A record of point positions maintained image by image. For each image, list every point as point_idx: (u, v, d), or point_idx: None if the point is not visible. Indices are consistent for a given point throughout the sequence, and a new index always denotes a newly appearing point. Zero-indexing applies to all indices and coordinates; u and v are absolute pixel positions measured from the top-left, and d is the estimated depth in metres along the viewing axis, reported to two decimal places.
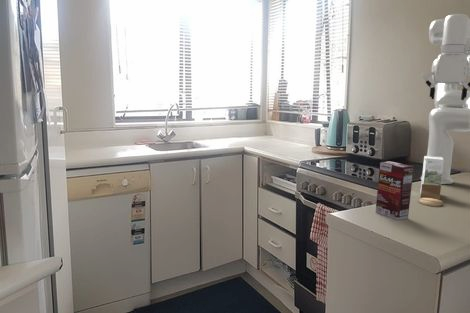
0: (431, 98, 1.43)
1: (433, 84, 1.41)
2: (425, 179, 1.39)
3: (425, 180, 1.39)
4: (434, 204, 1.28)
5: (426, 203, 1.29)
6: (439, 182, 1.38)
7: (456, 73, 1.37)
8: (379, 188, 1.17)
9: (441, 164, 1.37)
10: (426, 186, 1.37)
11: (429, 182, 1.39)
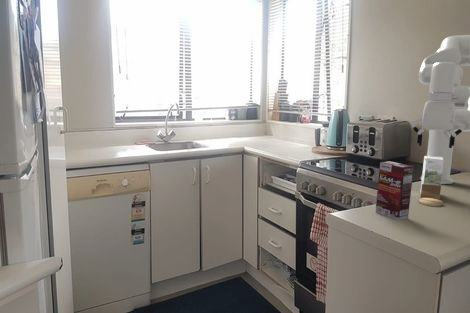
0: None
1: (420, 131, 1.39)
2: (425, 179, 1.39)
3: (425, 180, 1.39)
4: (434, 204, 1.28)
5: (426, 203, 1.29)
6: (439, 182, 1.38)
7: (443, 121, 1.34)
8: (379, 188, 1.17)
9: (441, 164, 1.37)
10: (426, 186, 1.37)
11: (429, 182, 1.39)
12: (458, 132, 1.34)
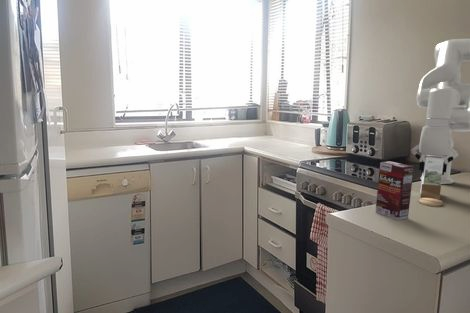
0: None
1: (422, 158, 1.40)
2: (425, 179, 1.39)
3: (425, 180, 1.39)
4: (434, 204, 1.28)
5: (426, 203, 1.29)
6: (439, 182, 1.38)
7: (440, 146, 1.36)
8: (379, 188, 1.17)
9: (441, 164, 1.37)
10: (426, 186, 1.37)
11: (429, 182, 1.39)
12: (450, 159, 1.37)
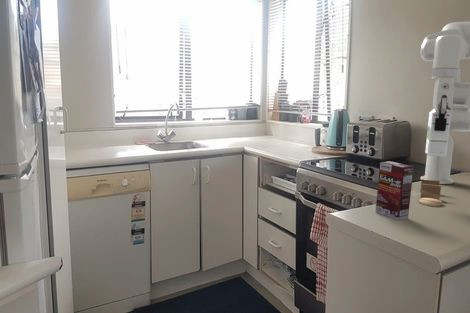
0: None
1: None
2: (427, 135, 1.32)
3: (427, 135, 1.32)
4: (434, 204, 1.28)
5: (426, 203, 1.29)
6: (429, 137, 1.28)
7: (434, 99, 1.26)
8: (379, 188, 1.17)
9: (431, 118, 1.27)
10: (426, 186, 1.37)
11: (427, 138, 1.31)
12: (439, 113, 1.23)
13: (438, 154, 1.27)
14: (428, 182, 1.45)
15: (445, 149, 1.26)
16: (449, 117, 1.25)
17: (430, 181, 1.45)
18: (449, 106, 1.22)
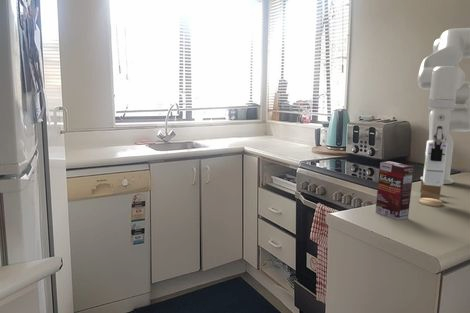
0: None
1: None
2: (424, 163, 1.32)
3: (424, 164, 1.33)
4: (434, 204, 1.28)
5: (426, 203, 1.29)
6: (425, 167, 1.28)
7: (431, 129, 1.27)
8: (379, 188, 1.17)
9: (427, 147, 1.27)
10: (426, 186, 1.37)
11: (424, 166, 1.31)
12: (435, 144, 1.24)
13: (434, 184, 1.28)
14: None
15: (441, 179, 1.27)
16: (445, 147, 1.25)
17: None
18: (445, 137, 1.23)
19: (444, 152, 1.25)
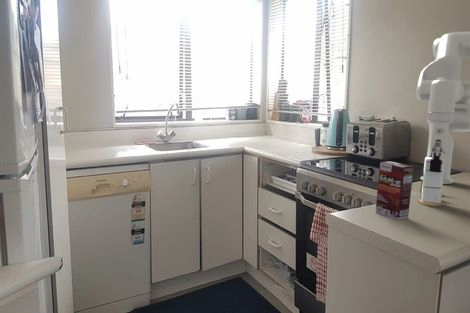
0: None
1: None
2: None
3: None
4: (434, 204, 1.28)
5: (426, 203, 1.29)
6: (423, 183, 1.30)
7: (429, 142, 1.28)
8: (379, 188, 1.17)
9: (425, 164, 1.29)
10: None
11: None
12: (434, 155, 1.23)
13: (432, 200, 1.29)
14: None
15: (439, 196, 1.28)
16: (443, 164, 1.26)
17: None
18: (443, 150, 1.23)
19: (441, 169, 1.26)
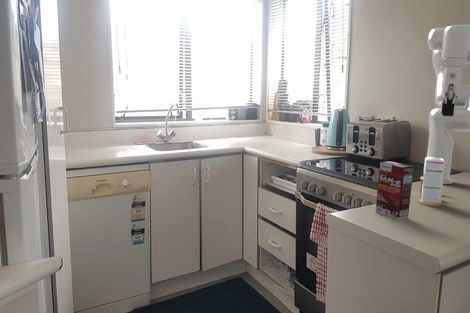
0: None
1: (443, 98, 1.38)
2: None
3: None
4: (434, 204, 1.28)
5: (426, 203, 1.29)
6: (423, 184, 1.29)
7: (442, 87, 1.32)
8: (379, 188, 1.17)
9: (425, 164, 1.29)
10: None
11: None
12: (447, 99, 1.27)
13: (432, 200, 1.29)
14: None
15: (439, 196, 1.28)
16: (443, 165, 1.26)
17: None
18: (456, 94, 1.28)
19: (441, 169, 1.26)
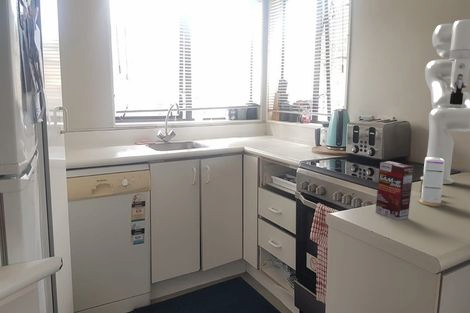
0: None
1: (452, 90, 1.46)
2: None
3: None
4: (434, 204, 1.28)
5: (426, 203, 1.29)
6: (423, 184, 1.29)
7: (451, 78, 1.39)
8: (379, 188, 1.17)
9: (425, 164, 1.29)
10: None
11: None
12: (456, 88, 1.35)
13: (432, 200, 1.29)
14: None
15: (439, 196, 1.28)
16: (443, 165, 1.26)
17: None
18: (465, 84, 1.35)
19: (441, 169, 1.26)
